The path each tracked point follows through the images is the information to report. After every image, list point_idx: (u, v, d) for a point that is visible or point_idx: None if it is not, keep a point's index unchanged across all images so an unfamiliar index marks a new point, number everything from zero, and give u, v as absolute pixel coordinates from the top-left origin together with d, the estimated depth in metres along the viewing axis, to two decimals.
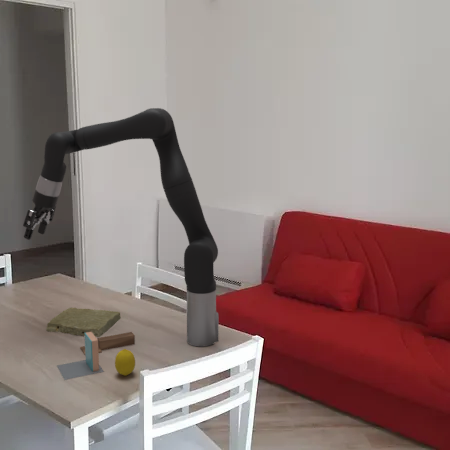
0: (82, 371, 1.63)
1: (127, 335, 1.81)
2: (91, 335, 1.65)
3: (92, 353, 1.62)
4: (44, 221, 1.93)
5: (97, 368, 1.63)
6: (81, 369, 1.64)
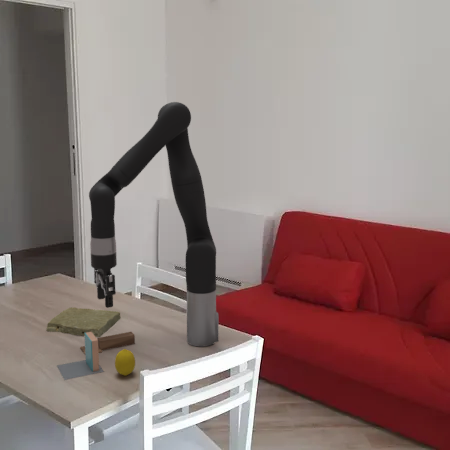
0: (82, 371, 1.63)
1: (127, 335, 1.81)
2: (91, 335, 1.65)
3: (92, 353, 1.62)
4: (101, 285, 1.79)
5: (97, 368, 1.63)
6: (81, 369, 1.64)
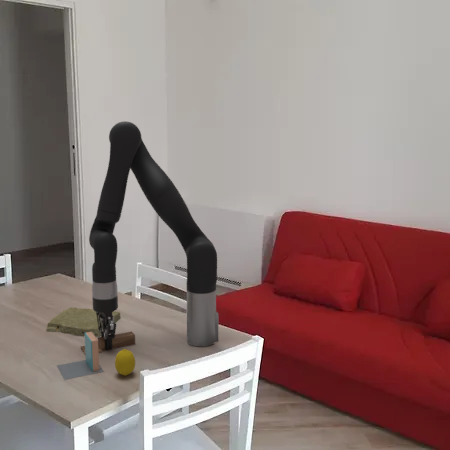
0: (82, 371, 1.63)
1: (127, 335, 1.81)
2: (91, 335, 1.65)
3: (92, 353, 1.62)
4: None
5: (97, 368, 1.63)
6: (81, 369, 1.64)
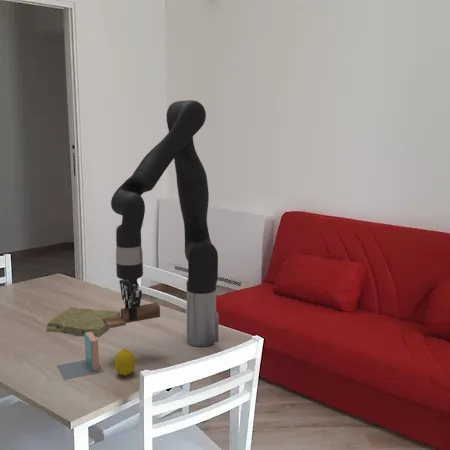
0: (82, 371, 1.63)
1: (152, 306, 1.71)
2: (91, 335, 1.65)
3: (92, 353, 1.62)
4: None
5: (97, 368, 1.63)
6: (81, 369, 1.64)
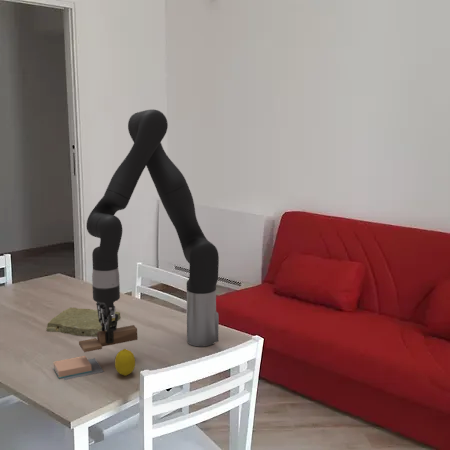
0: None
1: (129, 328, 1.68)
2: (55, 368, 1.62)
3: (72, 374, 1.60)
4: None
5: (89, 367, 1.62)
6: None
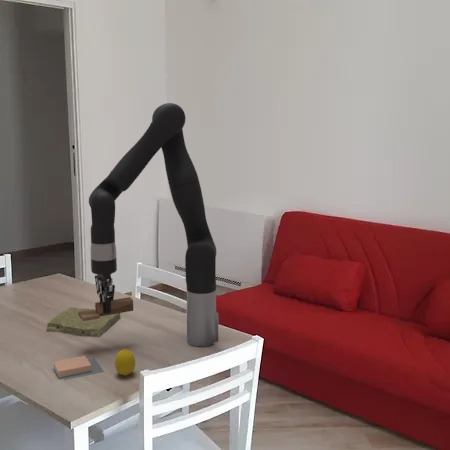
0: None
1: (125, 300, 1.78)
2: (55, 368, 1.62)
3: (72, 374, 1.60)
4: None
5: (89, 367, 1.62)
6: None
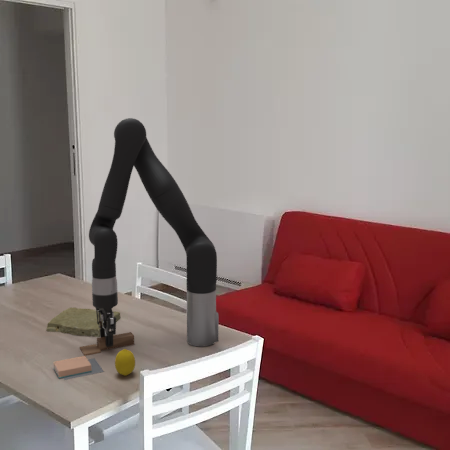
0: None
1: (126, 335, 1.80)
2: (55, 368, 1.62)
3: (72, 374, 1.60)
4: None
5: (89, 367, 1.62)
6: None
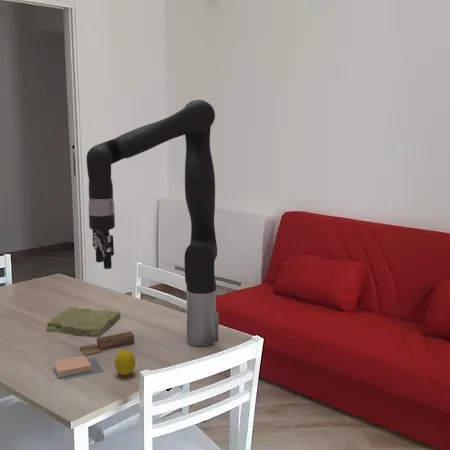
0: None
1: (126, 335, 1.81)
2: (55, 368, 1.62)
3: (72, 374, 1.60)
4: (99, 248, 1.78)
5: (89, 367, 1.62)
6: None
